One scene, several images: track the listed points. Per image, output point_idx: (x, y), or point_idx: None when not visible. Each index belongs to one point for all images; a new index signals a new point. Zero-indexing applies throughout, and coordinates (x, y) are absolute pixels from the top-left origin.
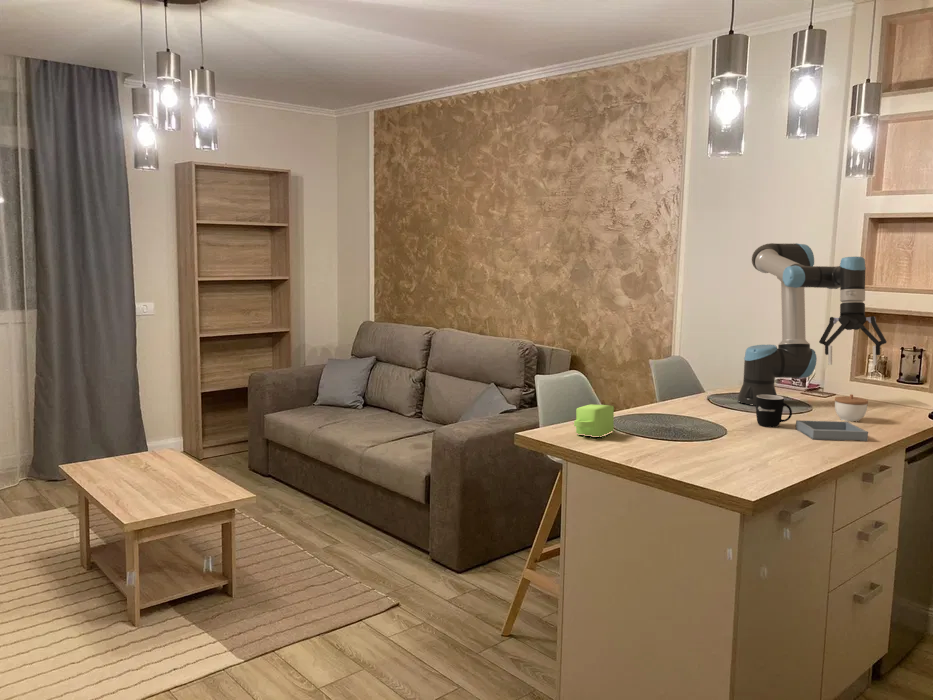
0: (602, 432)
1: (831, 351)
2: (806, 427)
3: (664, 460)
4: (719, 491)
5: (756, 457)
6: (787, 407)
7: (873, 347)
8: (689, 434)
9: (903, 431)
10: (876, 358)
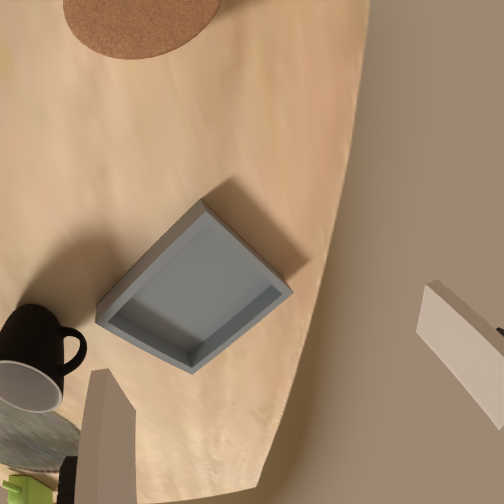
0: (47, 492)
1: (117, 492)
2: (157, 355)
3: (145, 493)
4: (229, 492)
5: (192, 457)
6: (75, 365)
7: (493, 418)
8: (56, 447)
9: (336, 70)
10: (469, 312)
